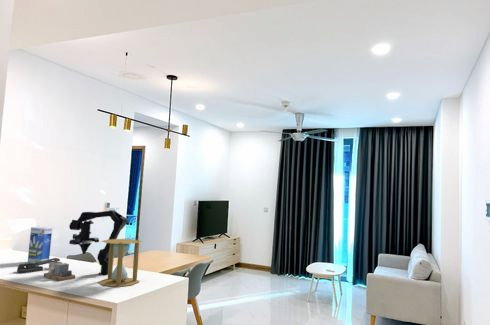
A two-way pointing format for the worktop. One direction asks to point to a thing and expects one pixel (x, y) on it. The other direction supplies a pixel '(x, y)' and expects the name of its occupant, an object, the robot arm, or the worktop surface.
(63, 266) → the block
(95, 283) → the worktop surface
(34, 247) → the blue printed box
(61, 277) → the rail board
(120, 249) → the hourglass
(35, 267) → the dark grey stapler
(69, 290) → the worktop surface
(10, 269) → the worktop surface
